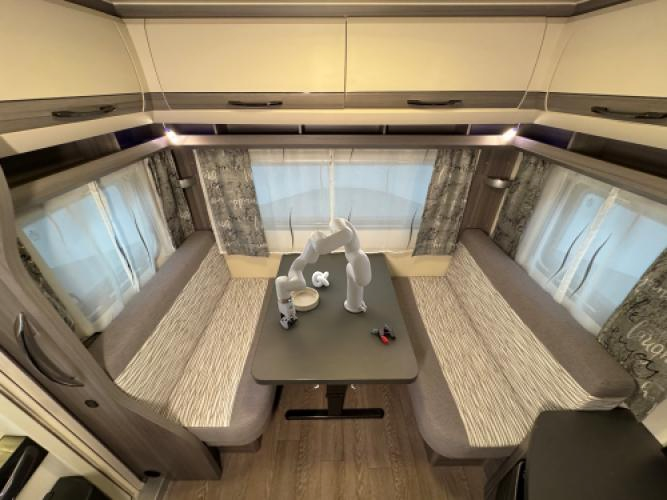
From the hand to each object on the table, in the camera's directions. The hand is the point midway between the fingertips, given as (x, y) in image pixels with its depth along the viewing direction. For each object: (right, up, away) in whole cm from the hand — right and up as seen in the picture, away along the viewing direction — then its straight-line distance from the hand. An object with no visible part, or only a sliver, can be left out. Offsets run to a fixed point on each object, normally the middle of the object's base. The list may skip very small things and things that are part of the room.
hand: (287, 321), depth 146 cm
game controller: (0, -1, +1) cm, 1 cm away
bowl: (+8, +8, +16) cm, 19 cm away
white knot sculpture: (+18, +17, +31) cm, 40 cm away
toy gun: (+52, -6, -9) cm, 54 cm away
